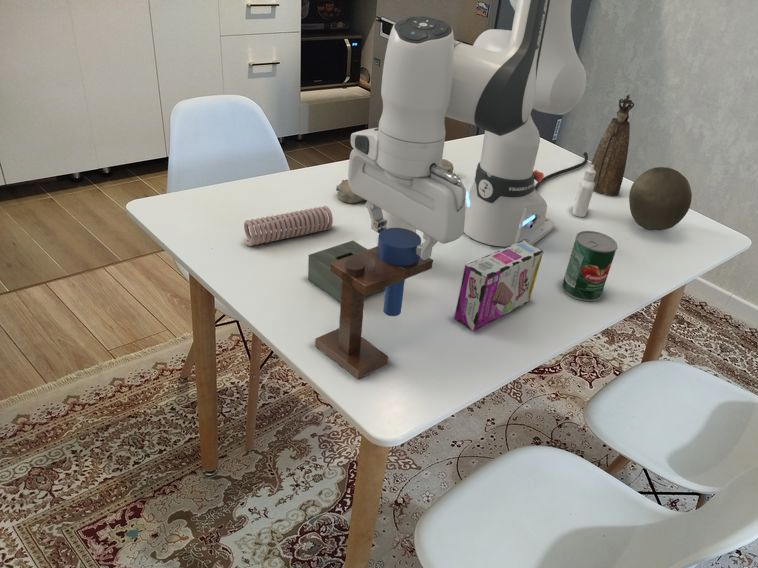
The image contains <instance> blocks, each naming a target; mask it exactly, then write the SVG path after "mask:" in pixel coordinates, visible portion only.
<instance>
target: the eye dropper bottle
mask: <svg viewBox="0 0 758 568" xmlns="http://www.w3.org/2000/svg"><path fill="white" fill-rule="evenodd" d="M590 165H591V164H590ZM590 165H589V168H586V169H585V171H584V175H583V178H582V179H581V180H580V182H579V185H578V187H577V192H576V196H575V199H574V203H573V208H572V214H573V216H575V217H579V218H584V217H586V216H587V213H588V209H589V207H590V204H591V199H592V196H593V193H594V191H593V189H594V185H595V184H594V181H593V180H594V178H595V174H596V171H595V170H594V165H591V166H590Z"/></svg>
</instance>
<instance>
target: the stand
mask: <svg viewBox="0 0 758 568" xmlns="http://www.w3.org/2000/svg"><path fill="white" fill-rule="evenodd" d="M377 249H378V246H377V247H376V246H374V247H371V248H369V249H368V250H365V251H363V252H360V253H357V254H354V255H351V256H348V257H345V258H342V259H340V260H337V261H334V262H331V263H330V272H332V273H333V274H334V275H336V276H337V277H339V278H340V279H342V287H341V302H340V308H339V326H338V328H336V329H334V330H331V331H329V332H327V333H325V334H322V335H320V336H318V337H316V338H315V339H314V340H315V341H314V346H315V347H316V348H317V349H318V350H319V351H321V352H322V353H323V354H325V355H326V356H328V357H329V358H330V359H331V360H333V361H334V362H335V363H337V364H338V365H339V366H341V367H342V369H344V370H345V371H347V372H348V373H349V374H351V375H352V376H353V377H354V378H356V379H357V380H359V379H361V378H363V377H365V376H367V375H369V374H370V373H373V372H375V371H376V370H378V369H380V368H383V367H384V366H386V365H388V363H389V355H388V354H386V353H385V352H383V351H382V350H381V349H379V348H378V347H376V346H375V345H374V344H372V343H371V342H369V341H368V340H367V339H365V338H364V337H362V334H363V333H362V332H363V321H364V320H363V319H364V310H365V309H364V308H365V307H364V306H365V298H366V297H365V295H368V294H370V293H373V292H375V291H377V290H380V289H382V288H385V287H387V286H390V285H392V284H395V283H397V282H400V281H402V280H404V279H405V280H407V279H409V278H412V277H415V276H416V275H419V274H422V273H424V272H427V271H429V270H431V269H433V264H434V259H432V258H431V257H430V258H428V259H426V260H422V259H421V258H419V260H418V261H417V262H416V263H415V264H413V265H409V266H394V265H390V264H387V263H385V262H383V261H382V260H380V259H379V257H378V255H377Z"/></svg>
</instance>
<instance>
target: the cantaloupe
mask: <svg viewBox="0 0 758 568" xmlns="http://www.w3.org/2000/svg"><path fill="white" fill-rule="evenodd" d="M692 195H693V193H692V189H691V185H690V182H689V180H688V179H687V178H686V177H685V176H684V175H683V174H682V173H681V172H680V171H678V170H676V169H674V168H672V167H666V166H658V167H656V166H655V167H652V168H649V169H647V170H646V171H643V172H642V173H640V175H639V176H638V177H637V178H636V179H635V180H634V182H633V183H632V184H631V187H630V189H629V194H628V203H629V212H630V215H631V217H632V219H633V221H634V222H635V223H636V224H637V225H638V226H639V227H641V228H643V229H644V230H647V231H650V232H651V231H652V232H655V231H656V232H658V231H659V232H661V231H666V230H669V229H672V228H673V227H675V226H676V225H678V224H679V223H680V222H681V221H682V220H683V219H684V218H685V217H686V215H687V213H688V212H689V211H690V207H691V204H692V197H693V196H692Z"/></svg>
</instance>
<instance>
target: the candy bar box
mask: <svg viewBox="0 0 758 568" xmlns="http://www.w3.org/2000/svg"><path fill="white" fill-rule="evenodd" d="M543 255H544V249H543V250H542V248H539V247H536V245H532V244H530V243H528V242H526V241H525V240H522V241H520V242H517V243H515V244H513V245H510V246H508V247H504V248H502V249H499V250H497V251H495V252H492V253H490V254H487V255H485V256H483V257H480V258H478V259H476V260H474V261H471V262H470V263H466V264H464V270H463V274H462V279H461V284H460V290H459V294H458V299H457V303H456V307H455V312H454V320H455V321H457V322H458V323H460V324H461V325H463V326H464V327H466V328H467V329H469V330H471V331H473V332H476V331H478V330H479V329H481V328H483V327H485V326H487V325H489V324H491V323H492V322H494V321H496V320H498V319H500V318H502V317H503V316H505V315H507V314H509V313H510V312H513V311H515V310H516V309H518V308H520V307H522V306H523V305H526V304H527V303H529V302H530V300H531V297H532V292H533V290H534V286H535V284H536V283H535V282H536V279H537V275H538V273H539V268H540V266H541V262H542V258H543Z"/></svg>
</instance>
